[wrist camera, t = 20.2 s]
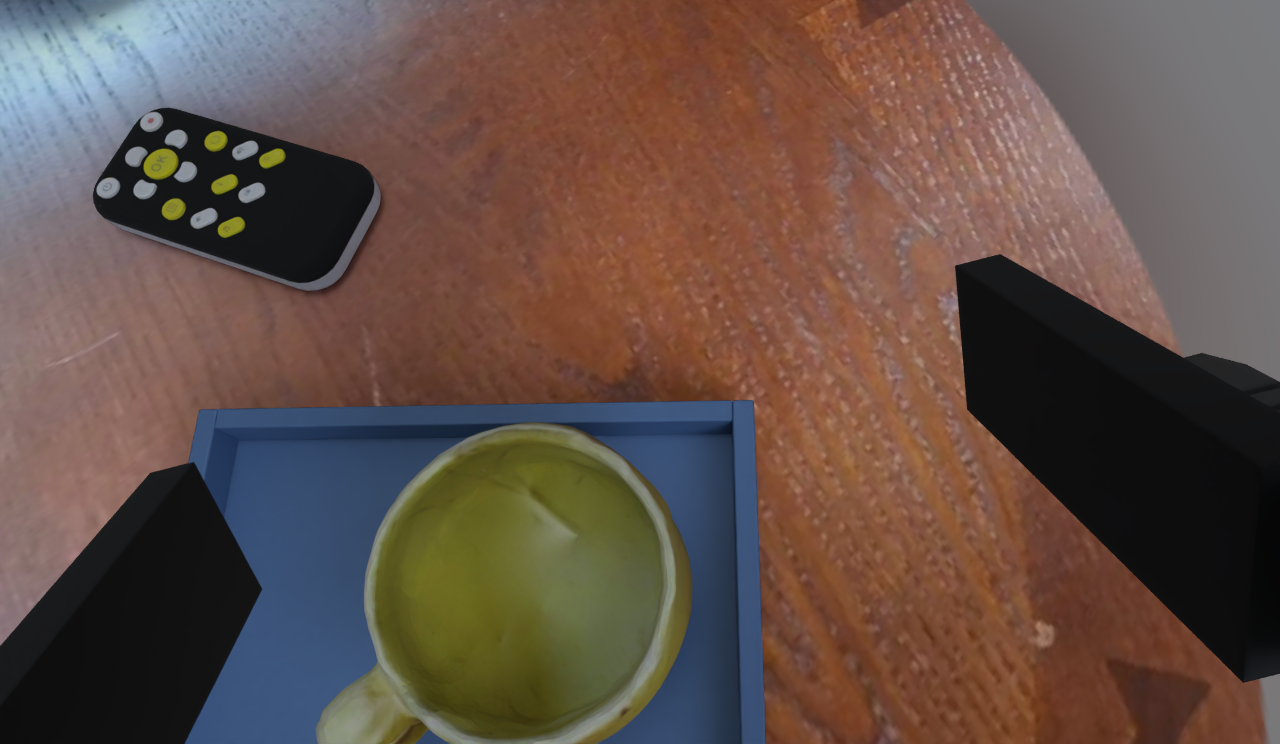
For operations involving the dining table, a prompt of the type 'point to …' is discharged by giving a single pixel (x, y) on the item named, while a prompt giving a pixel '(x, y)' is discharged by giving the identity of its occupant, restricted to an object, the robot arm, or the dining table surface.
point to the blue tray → (370, 483)
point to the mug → (518, 597)
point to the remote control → (239, 198)
